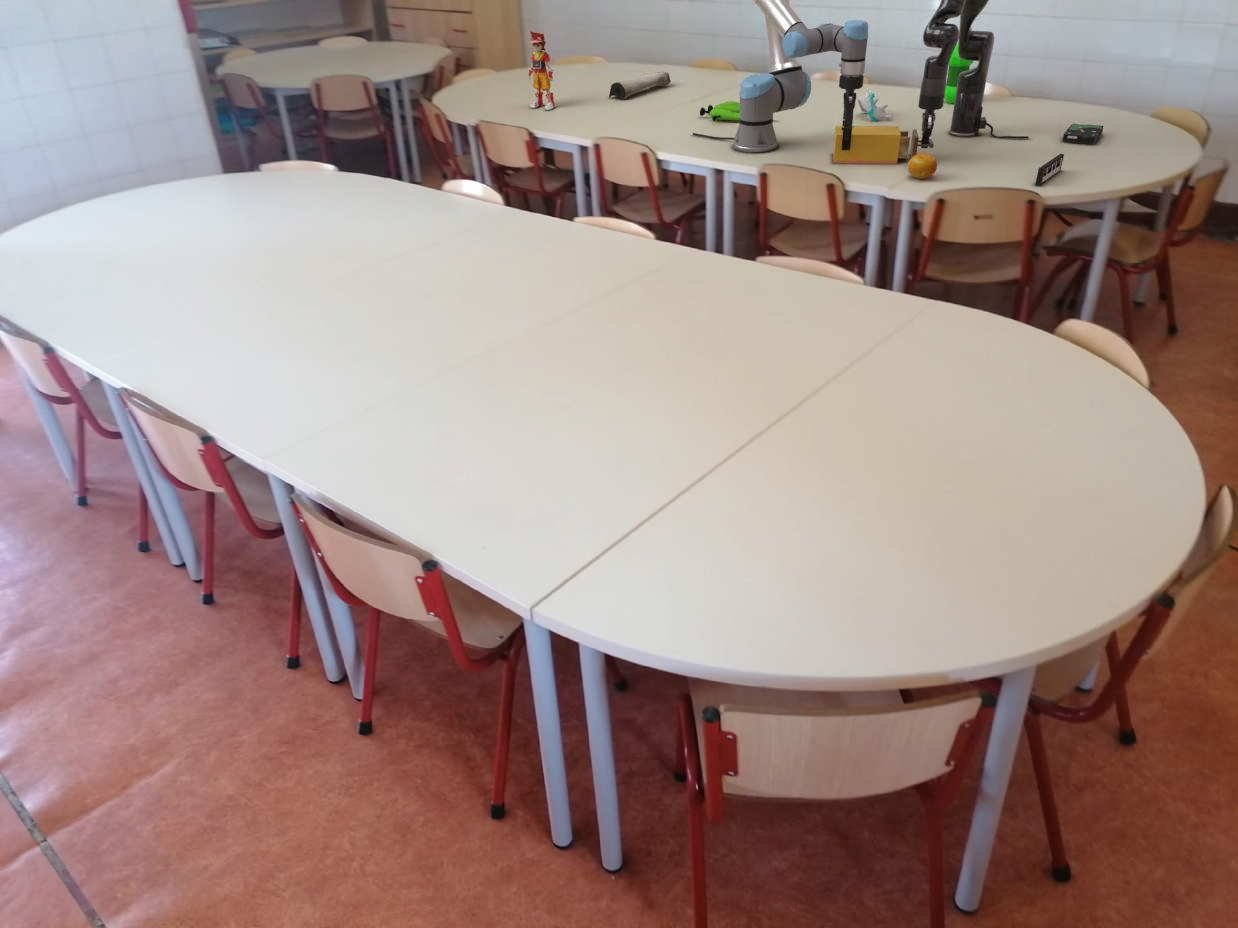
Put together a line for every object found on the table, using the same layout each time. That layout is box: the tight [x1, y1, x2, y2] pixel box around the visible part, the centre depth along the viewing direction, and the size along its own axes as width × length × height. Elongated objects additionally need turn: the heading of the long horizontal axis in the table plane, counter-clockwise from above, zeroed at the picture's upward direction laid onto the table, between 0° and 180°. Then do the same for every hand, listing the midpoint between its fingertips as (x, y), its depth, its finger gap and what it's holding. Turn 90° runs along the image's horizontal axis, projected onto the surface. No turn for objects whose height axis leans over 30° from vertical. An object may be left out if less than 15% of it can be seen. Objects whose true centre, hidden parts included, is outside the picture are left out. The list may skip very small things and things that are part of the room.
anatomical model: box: [857, 89, 892, 122], centre depth 341 cm, size 15×10×10 cm
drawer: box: [898, 128, 935, 159], centre depth 296 cm, size 24×9×7 cm, turn 79°
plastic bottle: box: [944, 42, 974, 104], centre depth 348 cm, size 10×10×25 cm
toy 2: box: [699, 100, 777, 122], centre depth 351 cm, size 28×5×30 cm
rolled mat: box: [608, 71, 672, 101], centre depth 395 cm, size 30×9×10 cm
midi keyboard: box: [1035, 153, 1065, 186], centre depth 273 cm, size 18×1×5 cm, turn 138°
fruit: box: [907, 152, 938, 179], centre depth 279 cm, size 8×8×8 cm
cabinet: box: [832, 125, 901, 165], centre depth 298 cm, size 20×11×9 cm, turn 79°
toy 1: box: [527, 31, 556, 111], centre depth 374 cm, size 12×9×30 cm
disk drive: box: [1061, 123, 1105, 145], centre depth 306 cm, size 10×3×15 cm
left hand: (845, 145), depth 299 cm, fingers closed on cabinet, 11 cm apart
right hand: (924, 147), depth 295 cm, fingers closed
